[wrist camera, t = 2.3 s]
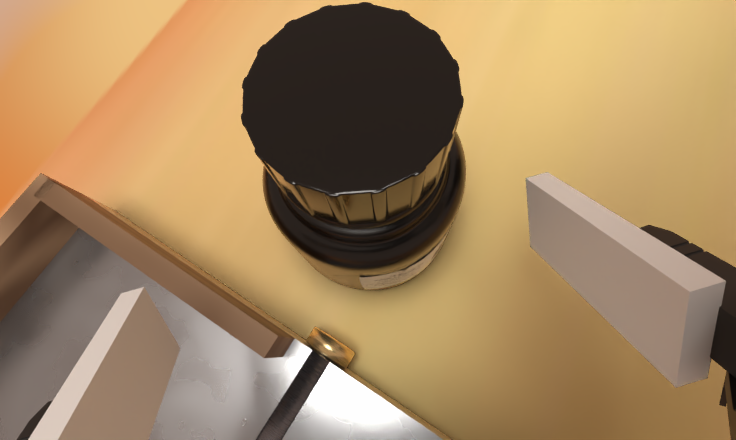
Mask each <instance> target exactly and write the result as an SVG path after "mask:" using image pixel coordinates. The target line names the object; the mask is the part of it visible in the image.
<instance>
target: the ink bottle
mask: <svg viewBox="0 0 736 440" xmlns="http://www.w3.org/2000/svg"><path fill="white" fill-rule="evenodd" d="M242 88H243V113H242V114H241V120H242V124H243V126H244V127H245V129H246V130H247V132H248V134H249V137H250V139H251V141H252V143H253V145H254V147H255V153H256V155H257V156H258V158H259V159H260V160H261V162H262V163H263V165H264V168H263V191H264V197H265V201H266V205H267V208H268V210H269V213H270V215H271V217H272V219H273V221H274V223H275V224H276V226H277V228H278V229H279V230H280V232H281V233H282V234H283V236H284V237H285V238H286V239H287V240H288V241H289V242H290V243H291V244H292V245H293V247H294V248H295V249H296V250H297V251H298V252H299V253H300V254H301V255H302V256H303V257H304V258H305V259H306V260H307V261H308V262H309V263H310V264H311V265H312V266H313V267H314V268H315V269H316V270H317V271H318V272H320V273H321V274H322V275H324V276H325V277H327V278H329V279H331V280H332V281H334V282H337V283H339V284H342V285H344V286H348V287H351V288H356V289H363V290H380V289H387V288H391V287H395V286H398V285H401V284H403V283H405V282H407V281H409V280H411V279H412V278H414V277H415V276H417V275H418V274H419V273H421V272H422V271H423V270H424V269H425V268H426V267H427V266H428V265H429V264H430V263H431V262H432V260H433V259H434V258H435V256H436V255H437V253H438V252H439V250H440V248H441V247H442V245H443V243H444V241H445V239H446V236H447V234H448V232H449V230H450V228H451V225H452V223H453V221H454V219H455V217H456V214H457V212H458V209H459V207H460V204H461V201H462V197H463V193H464V188H465V180H466V164H465V156H464V151H463V147H462V144H461V141H460V139H459V136H458V134H457V132H456V129H457V125H458V121H459V118H460V114H461V111H462V107H463V101H464V99H463V96H462V95H461V86H460V79H459V66H458V63H457V61H456V60H455V59H453V57H452V56H451V54H450V53H449V51H448V50H447V48H446V47H445V45H444V44H443V42H442V41H441V39H440V36H439V34H438V33H437V32H436V31H434V30H431V29H429V28H428V27H426V26H425V25H423V24H422V23H420V22H419V21H417V20H416V19H414V18H413V17H411V16H410V14H409V13H407V12H405V11H402V10H394V9H390V8H385V7H381V6H377V5H373V4H371V3H368V2H362V3H359V4H349V5H338V6H332V5H328V6H324V7H322V8H320V9H319V10H317V11H315V12H312V13H310V14H307V15H305V16H303V17H301V18H298V19H296V20H291V21H289V22H288V23H287V24H285V26H284V28H283V29H281V30H280V31H279V32H278V33H277V34H276V35H275V36H274V37H273V38H271V39H270V40H269V41H268V42H267V43H266V44H264V45H262V46H261V47H260V49H259V50H258V52H257V57H256V59H255V60H254V62H253V64H252V66H251V69H250V71H249V73H248V75H247V77H245V78H244V81H243V84H242Z"/></svg>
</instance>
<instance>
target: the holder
mask: <svg viewBox="0 0 736 440" xmlns="http://www.w3.org/2000/svg"><path fill="white" fill-rule="evenodd" d="M78 228H80V229H82V230H83V231H85V232H86V233H87V234H89V235H90V236H92V237H93V238H94V239H96V240H97V241H99V242H100V243H102V244H103V245H104V246H106V247H107V248H109V249H110V250H111V251H113V252H114V253H116V254H117V255H119V256H120V257H121V258H123V259H124V260H126V261H127V262H128V263H130V264H131V265H133V266H134V267H136V268H137V269H138V270H140V271H141V272H143V273H144V274H145V275H147V276H148V277H150V278H151V279H152V280H154V281H155V282H157V283H158V284H160V285H161V286H162V287H164V288H165V289H167V290H168V291H169V292H171V293H172V294H174V295H175V296H177V297H178V298H179V299H181V300H182V301H184V302H185V303H186V304H188V305H189V306H191V307H192V308H194V309H195V310H196V311H198V312H199V313H201V314H202V315H203V316H205V317H206V318H208V319H209V320H211V321H212V322H213V323H215V324H216V325H218V326H219V327H220V328H222V329H223V330H225V331H226V332H228V333H229V334H230V335H232V336H233V337H235V338H236V339H237V340H239V341H240V342H242V343H243V344H245V345H246V346H247V347H249V348H250V349H252V350H253V351H254V352H256V353H257V354H259V355H260V356H262V357H263V358H277V357H283V356H284V354H285V353H286V351H287V350H288V348H289V347H290V345H291V343H292V342H293V340H294V339H295V338H294V337H292V336H291V335H289V334H288V333H286V332H285V331H283V330H282V329H280V328H279V327H277V326H276V325H274V324H273V323H272V322H270V321H269V320H267V319H266V318H264V317H263V316H261V315H260V314H258V313H257V312H255V311H254V310H252V309H251V308H250V307H248V306H247V305H245V304H244V303H242V302H241V301H239V300H238V299H236V298H235V297H233V296H232V295H230V294H229V293H227V292H226V291H225V290H223V289H222V288H220V287H219V286H217V285H216V284H214V283H213V282H211V281H210V280H208V279H207V278H205V277H204V276H203V275H201V274H200V273H198V272H197V271H195V270H194V269H192V268H191V267H189V266H188V265H186V264H185V263H183V262H182V261H181V260H179V259H178V258H176V257H175V256H173V255H172V254H170V253H169V252H167V251H166V250H164V249H163V248H161V247H160V246H159V245H157V244H156V243H154V242H153V241H151V240H150V239H148V238H147V237H145V236H144V235H142V234H141V233H139V232H138V231H136V230H135V229H134V228H132V227H131V226H129V225H128V224H126V223H125V222H123V221H122V220H120V219H119V218H117V217H116V216H114V215H113V214H112V213H110V212H109V211H107V210H106V209H104V208H103V207H101V206H100V205H98V204H97V203H95V202H94V201H92V200H91V199H90V198H88V197H87V196H85V195H83V194H81V193H79V192H77V191H75V190H73V189H71V188H69V187H67V186H65V185H63V184H61V183H59V182H58V181H56V180H54V179H52V178H50V177H48V176H46V175H44V174H42V173H40V175H39V176H38V177H37V178H36V179H35V180H34V181H33V182H32V184H31V185H30V186H29V187H28V188H27V189H26V190H25V191H24V193H23V194H22V195H21V196H20V197H19V198H18V199H17V200H16V202H15V203H14V204H13V205H12V206H11V207H10V208H9V209H8V211H7V212H6V213H5V214H4V215H3V216H2V217H1V218H0V322H1V321H2V319H3V318H4V317H5V316H6V315H7V313H8V312H9V311H10V310H11V309H12V307H13V306H14V305H15V304H16V303H17V301H18V300H19V299H20V298H21V297H22V295H23V294H24V293H25V292H26V291H27V289H28V288H29V287H30V286H31V285H32V283H33V282H34V281H35V280H36V279H37V277H38V276H39V275H40V274H41V273H42V271H43V270H44V269H45V268H46V267H47V265H48V264H49V263H50V262H51V261H52V259H53V258H54V257H55V256H56V255H57V253H58V252H59V251H60V250H61V249H62V247H63V246H64V245H65V244H66V243H67V241H68V240H69V239H70V238H71V237H72V235H73V234H74V233H75V232H76V231H77V229H78Z"/></svg>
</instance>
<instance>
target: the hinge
mask: <svg viewBox="0 0 736 440" xmlns="http://www.w3.org/2000/svg"><path fill="white" fill-rule="evenodd" d="M88 198H89V197H88ZM90 199H91V198H90ZM91 200H92V201H94V202H95V203H97V204H98V205H100V206H101V207H103V208H104V209H106V210H107V211H109V212H110V213H112V214H113V215H114V216H116V217H117V218H119V219H120V220H122V221H123V222H125V223H126V224H128V225H129V226H131V227H132V228H134V229H135V230H136V231H138V232H139V233H141V234H142V235H144V236H145V237H147V238H148V239H150V240H151V241H153V242H154V243H156V244H157V245H159V246H160V247H161V248H163V249H164V250H166V251H167V252H169V253H170V254H172V255H173V256H175V257H176V258H178V259H179V260H181V261H182V262H183V263H185V264H186V265H188V266H189V267H191V268H192V269H194V270H195V271H197V272H198V273H200V274H201V275H203V276H204V277H205V278H207V279H208V280H210V281H211V282H213V283H214V284H216V285H217V286H219V287H220V288H222V289H223V290H225V291H226V292H227V293H229V294H230V295H232V296H233V297H235V298H236V299H238V300H239V301H241V302H242V303H244V304H245V305H247V306H248V307H250V308H251V309H252V310H254V311H255V312H257V313H258V314H260V315H261V316H263V317H264V318H266V319H267V320H269V321H270V322H272V323H273V324H274V325H276V326H277V327H279V328H280V329H282V330H283V331H285V332H286V333H288V334H289V335H291V336H292V337H294V338H295V339H294V340H293V342H292V343H291V345H290V347H289V348H288V350H287V351H286V353H285V354H284V356H283V357H277V358H263V357H262V356H260V355H259V354H257V353H256V352H254V351H253V350H252V349H250V348H249V347H247V346H246V345H245V344H243V343H242V342H240V341H239V340H237V339H236V338H235V337H233V336H232V335H230V334H229V333H228V332H226V331H225V330H223V329H222V328H220V327H219V326H218V325H216V324H215V323H213V322H212V321H211V320H209V319H208V318H206V317H205V316H203V315H202V314H201V313H199V312H198V311H196V310H195V309H194V308H192V307H191V306H189V305H188V304H186V303H185V302H184V301H182V300H181V299H179V298H178V297H177V296H175V295H174V294H172V293H171V292H169V291H168V290H167V289H165V288H164V287H162V286H161V285H160V284H158V283H157V282H155V281H154V280H152V279H151V278H150V277H148V276H147V275H145V274H144V273H143V272H141V271H140V270H138V269H137V268H136V267H134V266H133V265H131V264H130V263H128V262H127V261H126V260H124V259H123V258H121V257H120V256H119V255H117V254H116V253H114V252H113V251H111V250H110V249H109V248H107V247H106V246H104V245H103V244H102V243H100V242H99V241H97V240H96V239H94V238H93V237H92V236H90V235H89V234H87V233H86V232H85V231H83V230H82V229H80V228H78V229H77V231H76V232H75V233H74V234H73V235H72V237H71V238H70V239H69V240H68V241H67V243H66V244H65V245H64V246H63V247H62V249H61V250H60V251H59V252H58V253H57V255H56V256H55V257H54V258H53V259H52V261H51V262H50V263H49V264H48V265H47V267H46V268H45V269H44V270H43V271H42V273H41V274H40V275H39V276H38V277H37V279H36V280H35V281H34V282H33V283H32V285H31V286H30V287H29V288H28V289H27V291H26V292H25V293H24V294H23V295H22V297H21V298H20V299H19V300H18V301H17V303H16V304H15V305H14V306H13V307H12V309H11V310H10V311H9V312H8V313H7V315H6V316H5V317H4V318H3V319H2V321H1V322H0V440H17V438H18V437H19V435H20V434H21V432H22V431H23V429H24V428H25V426H26V425H27V423H28V422H29V420H30V419H31V418H32V417H33V416H34V415H35V414H36V413H37V412H38V411H39V410H40V409H41V408H42V407H43V406H44V405H45V404H46V403H47V402H49V401H52V400H54V398H55V397H56V395H57V393H58V392H59V390H60V389H61V387H62V386H63V384H64V382H65V381H66V379H67V378H68V376H69V375H70V373H71V371H72V370H73V368H74V367H75V365H76V364H77V362H78V360H79V359H80V357H81V356H82V354H83V353H84V351H85V349H86V348H87V346H88V345H89V343H90V342H91V340H92V338H93V337H94V335H95V334H96V332H97V331H98V329H99V327H100V326H101V324H102V323H103V321H104V320H105V318H106V316H107V315H108V313H109V312H110V310H111V308H112V307H113V305H114V304H115V302H116V301H117V299H118V297H119V296H120V294H121V293H124V292H128V291H131V290H135V289H138V288H142V287H145V289H146V291H147V293H148V294H149V296H150V298H151V299H152V301H153V303H154V304H155V306H156V308H157V309H158V311H159V313H160V315H161V316H162V318H163V320H164V321H165V323H166V325H167V326H168V328H169V330H170V331H171V333H172V335H173V337H174V338H175V340H176V342H177V343H178V345H179V347H180V351H179V354H178V357H177V359H176V362H175V365H174V368H173V371H172V374H171V377H170V379H169V382H168V385H167V388H166V391H165V394H164V397H163V399H162V402H161V405H160V408H159V411H158V414H157V417H156V419H155V422H154V425H153V428H152V431H151V434H150V437H149V440H452V439H451V438H449V437H448V436H447V435H445V434H444V433H442V432H441V431H439V430H438V429H436V428H435V427H433V426H432V425H430V424H429V423H427V422H426V421H424V420H423V419H421V418H420V417H418V416H417V415H416V414H414V413H413V412H411V411H410V410H408V409H407V408H405V407H404V406H402V405H401V404H399V403H398V402H396V401H395V400H393V399H392V398H390V397H389V396H388V395H386V394H385V393H383V392H382V391H380V390H379V389H377V388H376V387H374V386H373V385H371V384H370V383H368V382H367V381H365V380H364V379H362V378H361V377H359V376H358V375H357V374H355V373H354V372H352V371H351V370H349V369H348V368H347V366H348V365H349V363H350V361H351V360H352V358H353V356H354V355H355V352H354V351H352V350H351V349H350V348H348V347H347V346H346V345H344V344H343V343H341V342H340V341H338V340H337V339H335V338H334V337H332V336H330V335H329V334H327V333H326V332H324V331H322V330H321V329H319V328H317V327H314V329H313V330H312V332H311V334H310V335H309V337H308V338H307V340H305V339H303V338H302V337H300V336H299V335H298V334H296V333H295V332H293V331H292V330H290V329H289V328H287V327H286V326H284V325H283V324H281V323H280V322H278V321H277V320H275V319H274V318H272V317H271V316H269V315H268V314H267V313H265V312H264V311H262V310H261V309H259V308H258V307H256V306H255V305H253V304H252V303H250V302H249V301H247V300H246V299H244V298H243V297H241V296H240V295H239V294H237V293H236V292H234V291H233V290H231V289H230V288H228V287H227V286H225V285H224V284H222V283H221V282H219V281H218V280H216V279H215V278H213V277H212V276H210V275H209V274H208V273H206V272H205V271H203V270H202V269H200V268H199V267H197V266H196V265H194V264H193V263H191V262H190V261H188V260H187V259H185V258H184V257H182V256H181V255H180V254H178V253H177V252H175V251H174V250H172V249H171V248H169V247H168V246H166V245H165V244H163V243H162V242H160V241H159V240H157V239H156V238H154V237H153V236H151V235H150V234H149V233H147V232H146V231H144V230H143V229H141V228H140V227H138V226H137V225H135V224H134V223H132V222H131V221H129V220H128V219H126V218H125V217H123V216H122V215H121V214H119V213H118V212H116V211H115V210H113V209H111V208H109V207H107V206H105V205H103V204H101V203H99V202H97V201H95V200H93V199H91Z"/></svg>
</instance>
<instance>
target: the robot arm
mask: <svg viewBox="0 0 736 440" xmlns="http://www.w3.org/2000/svg"><path fill="white" fill-rule="evenodd" d="M526 189H527V204H528V219H529V234H530V247H531V248H532V249H533V250H534V251H535V252H536V253H538V254H539V255H540V256H541V257H542V258H543V259H544V260H545V261H546V262H547V263H548V264H549V265H550V266H551V267H552V268H553V269H554V270H555V271H556V272H557V273H558V274H559V275H560V276H561V277H562V278H563V279H564V280H565V281H566V282H567V283H568V284H569V285H571V286H572V287H573V288H574V289H575V290H576V291H577V292H578V293H579V294H580V295H581V296H582V297H583V298H584V299H585V300H586V301H587V302H588V303H589V304H590V305H591V306H592V307H593V308H594V309H595V310H596V311H597V312H598V313H599V314H600V315H601V316H602V317H604V318H605V319H606V320H607V321H608V322H609V323H610V324H611V325H612V326H613V327H614V328H615V329H616V330H617V331H618V332H619V333H620V334H621V335H622V336H623V337H624V338H625V339H626V340H627V341H628V342H629V343H630V344H631V345H632V346H633V347H634V348H635V349H637V350H638V351H639V352H640V353H641V354H642V355H643V356H644V357H645V358H646V359H647V360H648V361H649V362H650V363H651V364H652V365H653V366H654V367H655V368H656V369H657V370H658V371H659V372H660V373H661V374H662V375H663V376H664V377H665V378H666V379H667V380H668V381H670V382H671V383H672V384H673V385H674V386H675V387H676V388H677V387H680V386H683V385H686V384H690V383H693V382H696V381H699V380H703V379H706V378H708V373H709V368H710V362H711V358H712V359H713V360H714V361H715V362H717V363H718V364H719V365H720V366H722V367H723V368H724V369H725V370H726V371H727V372H726V377H725V381H724V386H723V390H722V395H721V400H720V404H719V405H721V406H725V407H726V404H727V409H728V417H729V426H730V435H731V440H736V268H735V267H733V266H732V265H730V264H728V263H726V262H725V261H723V260H721V259H719V258H717V257H716V256H714V255H712V254H710V253H709V252H707V251H705V252H704V251H703V249H702V248H700V247H698V246H696V245H694V244H693V243H689V241H687V240H686V239H684V238H682V237H680V236H679V235H677V234H675V233H673V232H671V231H668V230H665V229H661V228H658V227H655V226H651V225H648V226H644V227H641V228H638V227H637V226H635V225H633V224H632V223H630V222H628V221H627V220H625V219H623V218H622V217H620V216H618V215H617V214H615V213H614V212H612V211H610V210H609V209H607V208H605V207H604V206H602V205H600V204H599V203H597V202H596V201H594V200H592V199H591V198H589V197H587V196H586V195H584V194H582V193H581V192H579V191H577V190H576V189H574V188H573V187H571V186H569V185H568V184H566V183H564V182H563V181H561V180H559V179H558V178H556V177H554V176H553V175H551V174H550V173H548V172H546V173H542V174H539V175H535V176H532V177H528V178H526ZM179 351H180V347H179V345H178V343H177V342H176V340H175V338H174V337H173V335H172V333H171V331H170V330H169V328H168V326H167V325H166V323H165V321H164V320H163V318H162V316H161V315H160V313H159V311H158V309H157V308H156V306H155V304H154V303H153V301H152V299H151V298H150V296H149V294H148V293H147V291H146V289H145V287H142V288H138V289H135V290H131V291H128V292H124V293H121V294H120V296H119V297H118V299H117V301H116V302H115V304H114V305H113V307H112V308H111V310H110V312H109V313H108V315H107V316H106V318H105V320H104V321H103V323H102V324H101V326H100V327H99V329H98V331H97V332H96V334H95V335H94V337H93V338H92V340H91V342H90V343H89V345H88V346H87V348H86V349H85V351H84V353H83V354H82V356H81V357H80V359H79V360H78V362H77V364H76V365H75V367H74V368H73V370H72V371H71V373H70V375H69V376H68V378H67V379H66V381H65V382H64V384H63V386H62V387H61V389H60V390H59V392H58V393H57V395H56V397H55V398H54V400H52V401H49V402H47V403H46V404H45V405H44V406H43V407H42V408H41V409H40V410H39V411H38V412H37V413H36V414H35V415H34V416H33V417H32V418H31V419H30V420H29V422H28V423H27V425H26V426H25V428H24V429H23V431H22V432H21V434H20V435H19V437H18V438H17V440H149V437H150V434H151V431H152V428H153V425H154V422H155V419H156V417H157V414H158V411H159V408H160V405H161V402H162V399H163V397H164V394H165V391H166V388H167V385H168V382H169V379H170V377H171V374H172V371H173V368H174V365H175V362H176V359H177V357H178V354H179Z"/></svg>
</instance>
